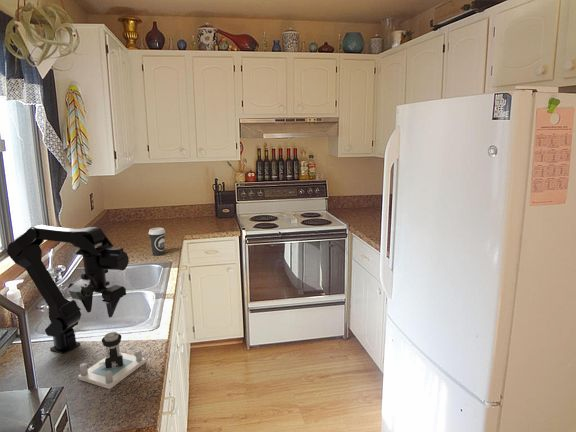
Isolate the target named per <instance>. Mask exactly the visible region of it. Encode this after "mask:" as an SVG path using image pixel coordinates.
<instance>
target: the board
mask: <svg viewBox="0 0 576 432" xmlns="http://www.w3.org/2000/svg"><path fill="white" fill-rule="evenodd" d="M116 349H117V346H116ZM120 353H121V355H122V356H123V366H121V367H120V366H118V367H116V368H106V367H102V365H105V364H102V363H103V362H105V359H106V357H104V358H103V359H101V360H99V361H98V362H97V363H95V364H92V366H90V367H89V368H88V364H87V363H86V362H83V363H80V365H79V370H80V374H78V375H77V379H78V380H80V381H83V382H86V383H89V384H93V385H95V386H99V387H102V388H105V389H107V390H111V389H112V388H113V387H115V386H116V385H117V384H118V383H120V382H122V381H123V380H124V379H126V378H127V377H128V376H129V375H131V374H132V373H133V372H134V371H136V370H137V369H138V368H140V367H141V366H142V365H144V364H145V363H146V358H144V357H143V354H142V353H143V352H142V349H136V350H135V352H134V353H135V355H133V354H132V355H131V354H130V353H124V352H120ZM109 357H110V355H109ZM100 363H101V365H99V364H100ZM100 366H101V367H100Z"/></svg>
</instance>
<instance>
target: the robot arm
mask: <svg viewBox="0 0 576 432" xmlns="http://www.w3.org/2000/svg"><path fill="white" fill-rule="evenodd" d="M45 241H51V242H59V243H60V242H61V243H66V244H67V243H68V244H71V245H73V247H75V248H78V250H77V251H76V252H75V255H77V256H82V262H83V271H84V272H81V275H80V279H77V280H75V281H72V282H70V283H69V285H68V289H67V291H68V293H69V295H70V297H71V299H72V300H68V299H67V298H65V296H64V294H63V292H61V290H60V288H59V287H58V285H57V283H56V282H55V280H54V278H53V277H52V275H51V274H50V272H49V270H48V269H47V267H46V265H45V264H44V262H43V261H42V260H43V259H42V257H43V253H42V248H41V245H42V244H43V243H44V242H45ZM6 253H7V255H8V256H9V258H10V259H11V260H12V262H14V263H15V264H16V265H18V266H20V267H21V268H23V269H24V270H25V271H26V272H27V275H28V276H29V277H30V279H31V281H32V282H33V283H34V286H35V287H36V288H37V290H38V292H39V293H40V295H41V296H42V298H43V299H44V301H45V303H46V305H47V306H48V318H49V321H50V323H49V325H48V326H47V327H46V328H45V329H44V332H45V334H46V336H47V337H52V340H53V346H51V347H50V348H49V350H50V351H51V352H52V351H53V352H57V353H59V354H66V353H68V352H69V351H71V350H73V349H74V348H76V347H78V346H79V345H81V342H80V341H77V338H76V334H75V329H74V327H76V326H78V325H79V322H80V320H81V318H82V317H81V316H82V312H81V308H80V307H79V306H78V304H77V302H76V301H75V300H79V301H81V303H82V306H83V307H84V309H85V311H86V313H91V312H92V307H93V299H94V293H99V294H101V298H102V299H101V301H102V302H103V303H104V304H105V305H106V306H105V307H106V310H107V317H108V318H109V319H110V318H113V315H114V313H115V311H116V308H117V306H118V305H119V302H120V300H121V298H123V297H124V296H126V295H127V289H126V287H125V286H123V285H117V284H114V285H111V286H110V281H109V280H107V276H106V274H107V273H109V270H110V271H124V270H126V269H127V268H128V265H129V256H128V253H127V252H126V251H124V247H114V245H113V243H112V242H111V241H110V240H109V238H108V237H107V235H106V234H105V233H104V231H103V230H102V228H101V227H98V226H90V227H83V228H82V227H81V228H69V227H61V226H51V225H45V224H38V225H33V226H31V227H29V228H28V229H27V230H26V231H25V232H24V233H23V234H21V235H20V236H19V237H17V238H16V239H15V240H14V241H12V242H10V243H8V246H7V249H6ZM107 286H110V287H107Z"/></svg>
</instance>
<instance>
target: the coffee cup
mask: <svg viewBox="0 0 576 432" xmlns="http://www.w3.org/2000/svg"><path fill="white" fill-rule="evenodd" d="M147 234H148V235H149V240H150V247H151V253H152V256H154V257H159V256H160V257H162V256H163V255H165V250H166V248H165V246H166V245H165V244H166V243H165V242H166V241H165V239H166V236H165V235H166V229H165V228H164V227H152V228H149V231H148V233H147Z"/></svg>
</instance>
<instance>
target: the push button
mask: <svg viewBox="0 0 576 432" xmlns="http://www.w3.org/2000/svg"><path fill="white" fill-rule="evenodd" d="M101 342H102V346H103V347H105V351H106V355H105V358H106V359H105V362H103V363H102V364H105V365H102V367H106V368H116V367H118V366H120V367H121V366H123V356H122V355H121V353H122V352H121V353H120V349H121V348H120V343H121V342H122V335H121V334H119V333H118V332H116V331H115V332H114V331H112V332H108V333H105V335H104V336H103V337H102V338H101ZM116 346H117V349H116ZM109 355H110V357H109ZM99 365H101V363H100V364H99ZM100 367H101V366H100Z"/></svg>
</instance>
